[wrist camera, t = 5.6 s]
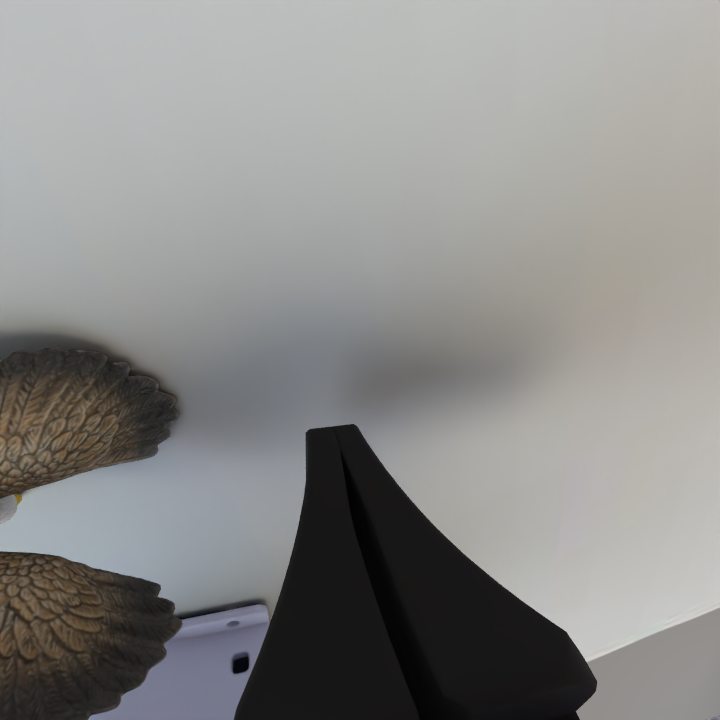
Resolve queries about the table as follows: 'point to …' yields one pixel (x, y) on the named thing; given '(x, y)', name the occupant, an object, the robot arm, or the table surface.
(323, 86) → the table surface
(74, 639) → the eagle figurine
